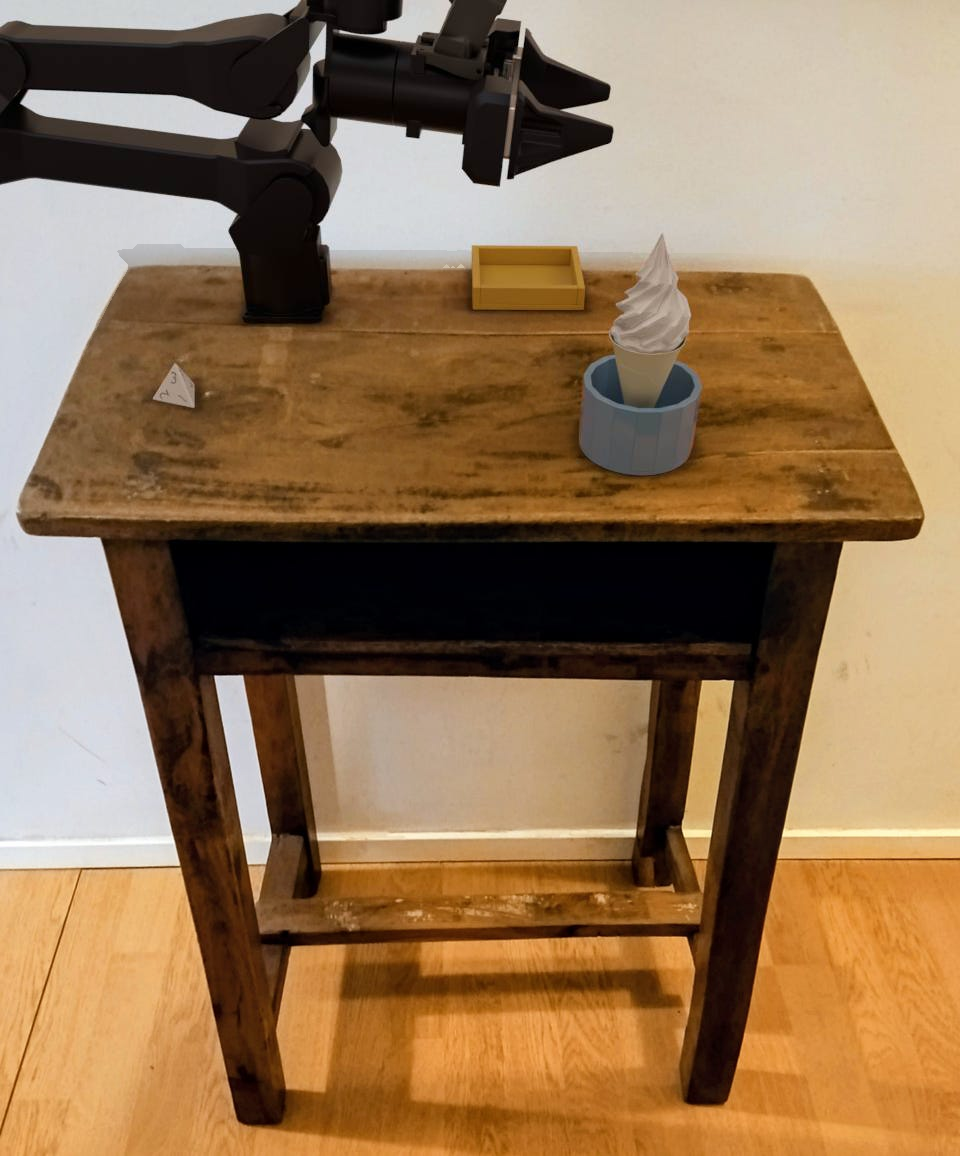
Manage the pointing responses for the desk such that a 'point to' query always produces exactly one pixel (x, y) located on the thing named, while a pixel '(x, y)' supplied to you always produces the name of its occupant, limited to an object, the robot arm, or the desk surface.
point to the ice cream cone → (650, 330)
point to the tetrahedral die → (177, 388)
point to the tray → (527, 278)
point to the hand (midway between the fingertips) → (611, 112)
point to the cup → (638, 421)
